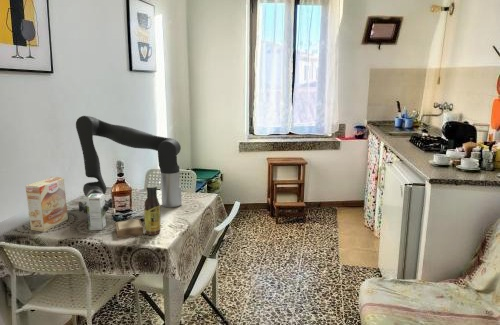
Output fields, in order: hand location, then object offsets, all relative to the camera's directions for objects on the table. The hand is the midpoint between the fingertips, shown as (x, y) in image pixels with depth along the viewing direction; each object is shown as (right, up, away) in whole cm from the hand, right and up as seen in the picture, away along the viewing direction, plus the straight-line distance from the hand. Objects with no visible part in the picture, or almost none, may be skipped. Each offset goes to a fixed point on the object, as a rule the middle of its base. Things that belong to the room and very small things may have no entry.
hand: (96, 210), depth 156 cm
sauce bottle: (+24, -9, -1) cm, 26 cm away
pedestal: (+14, -9, 0) cm, 16 cm away
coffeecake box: (-23, -7, +7) cm, 25 cm away
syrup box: (-1, -8, +4) cm, 9 cm away
